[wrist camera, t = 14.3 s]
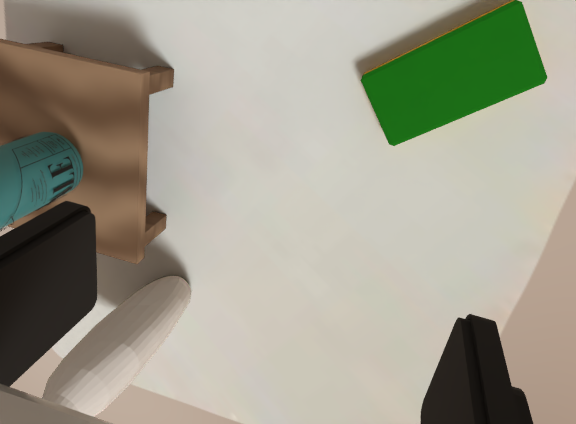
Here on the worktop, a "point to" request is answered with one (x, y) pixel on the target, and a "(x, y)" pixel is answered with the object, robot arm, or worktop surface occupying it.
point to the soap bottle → (118, 347)
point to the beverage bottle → (36, 173)
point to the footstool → (89, 133)
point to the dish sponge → (456, 74)
